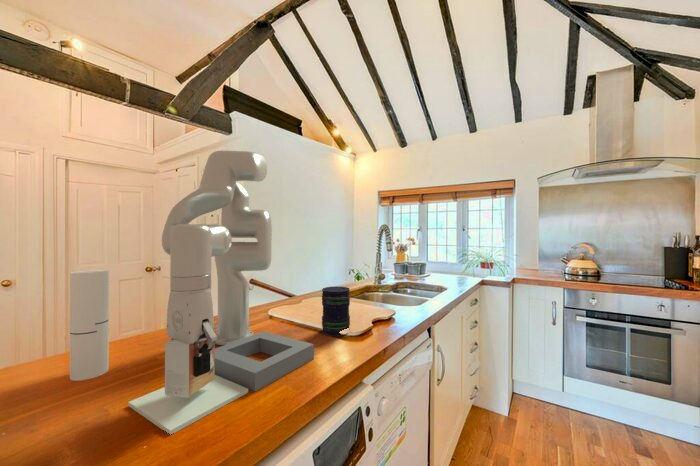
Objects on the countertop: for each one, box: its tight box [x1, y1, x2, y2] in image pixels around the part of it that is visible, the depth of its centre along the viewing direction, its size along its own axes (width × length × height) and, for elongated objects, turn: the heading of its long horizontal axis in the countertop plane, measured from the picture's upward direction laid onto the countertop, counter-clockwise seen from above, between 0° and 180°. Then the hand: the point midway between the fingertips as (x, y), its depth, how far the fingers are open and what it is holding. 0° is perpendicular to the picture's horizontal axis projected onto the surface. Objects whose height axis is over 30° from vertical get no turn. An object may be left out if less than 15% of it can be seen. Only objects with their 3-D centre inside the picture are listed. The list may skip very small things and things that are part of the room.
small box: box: [164, 331, 216, 398], centre depth 61 cm, size 8×6×10 cm
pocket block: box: [214, 331, 315, 392], centre depth 78 cm, size 20×20×4 cm
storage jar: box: [321, 286, 351, 337], centre depth 104 cm, size 10×10×15 cm
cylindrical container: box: [69, 269, 110, 382], centre depth 72 cm, size 7×7×25 cm
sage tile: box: [128, 375, 249, 436], centre depth 61 cm, size 16×16×1 cm
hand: (191, 368), depth 61 cm, fingers closed on small box, 7 cm apart
